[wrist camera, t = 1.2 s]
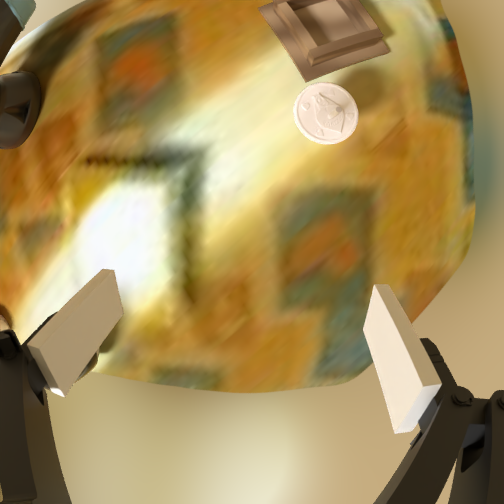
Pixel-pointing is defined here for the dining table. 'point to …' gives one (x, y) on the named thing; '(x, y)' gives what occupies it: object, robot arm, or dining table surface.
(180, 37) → the dining table surface
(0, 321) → the mug
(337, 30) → the box
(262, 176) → the dining table surface
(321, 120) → the smoothie
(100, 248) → the dining table surface
